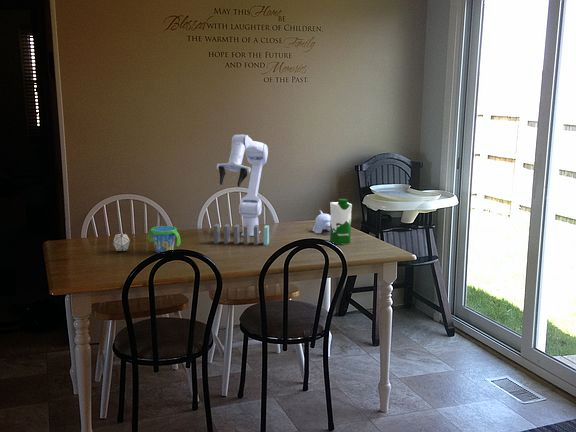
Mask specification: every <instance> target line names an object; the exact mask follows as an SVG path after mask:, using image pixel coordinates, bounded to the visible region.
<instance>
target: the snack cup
mask: <svg viewBox="0 0 576 432" xmlns="http://www.w3.org/2000/svg"><path fill="white" fill-rule="evenodd" d="M175 239H176V240H175ZM147 241H148V243H152V242H153V246H154V250H155V252H156V253H157V254H161V253H160V252H163V251H167V250H173V251H174V249H175V245H176V247H180V245H181V242H182V241H181V236H180V233H179V232H178V230H177V227H176V226H171V225H159V226H153V227H152V228H150V229H149V231H148V235H147ZM175 241H176V244H175Z"/></svg>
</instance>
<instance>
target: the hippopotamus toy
mask: <svg viewBox="0 0 576 432" xmlns="http://www.w3.org/2000/svg"><path fill="white" fill-rule="evenodd" d="M318 211H319V212H320V213H319V215H317V216H316V217H315V224H314V226H313V228H312V230H311V231H313V232H314V233H315V234H322V233H323V230H324V229H325V230H326V231H328V232H329V233H330V218H331V214H329V213H323V211H322V210H321V209H319V210H318Z"/></svg>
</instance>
